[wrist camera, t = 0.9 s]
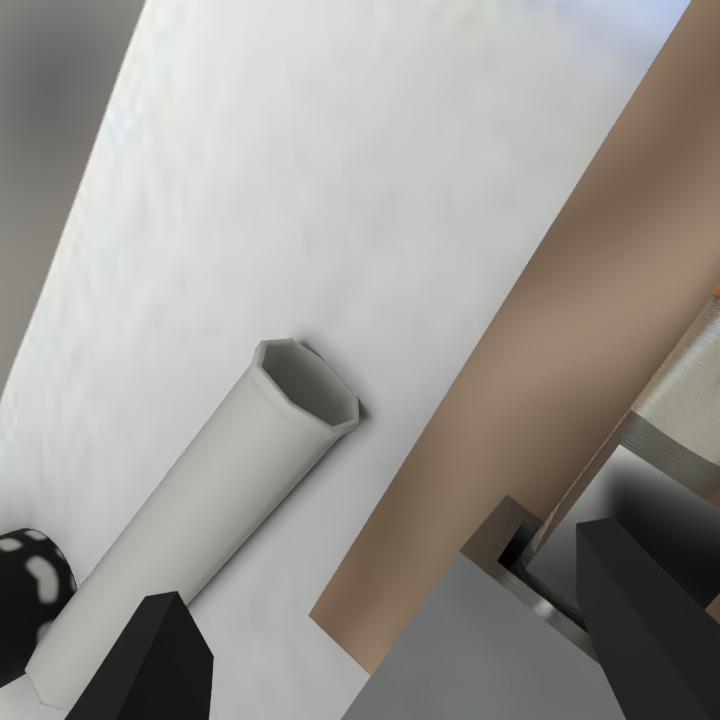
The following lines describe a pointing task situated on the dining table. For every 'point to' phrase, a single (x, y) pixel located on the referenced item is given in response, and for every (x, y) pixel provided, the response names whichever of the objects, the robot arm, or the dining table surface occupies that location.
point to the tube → (201, 507)
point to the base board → (557, 346)
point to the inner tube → (649, 480)
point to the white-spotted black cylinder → (28, 596)
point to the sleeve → (489, 644)
